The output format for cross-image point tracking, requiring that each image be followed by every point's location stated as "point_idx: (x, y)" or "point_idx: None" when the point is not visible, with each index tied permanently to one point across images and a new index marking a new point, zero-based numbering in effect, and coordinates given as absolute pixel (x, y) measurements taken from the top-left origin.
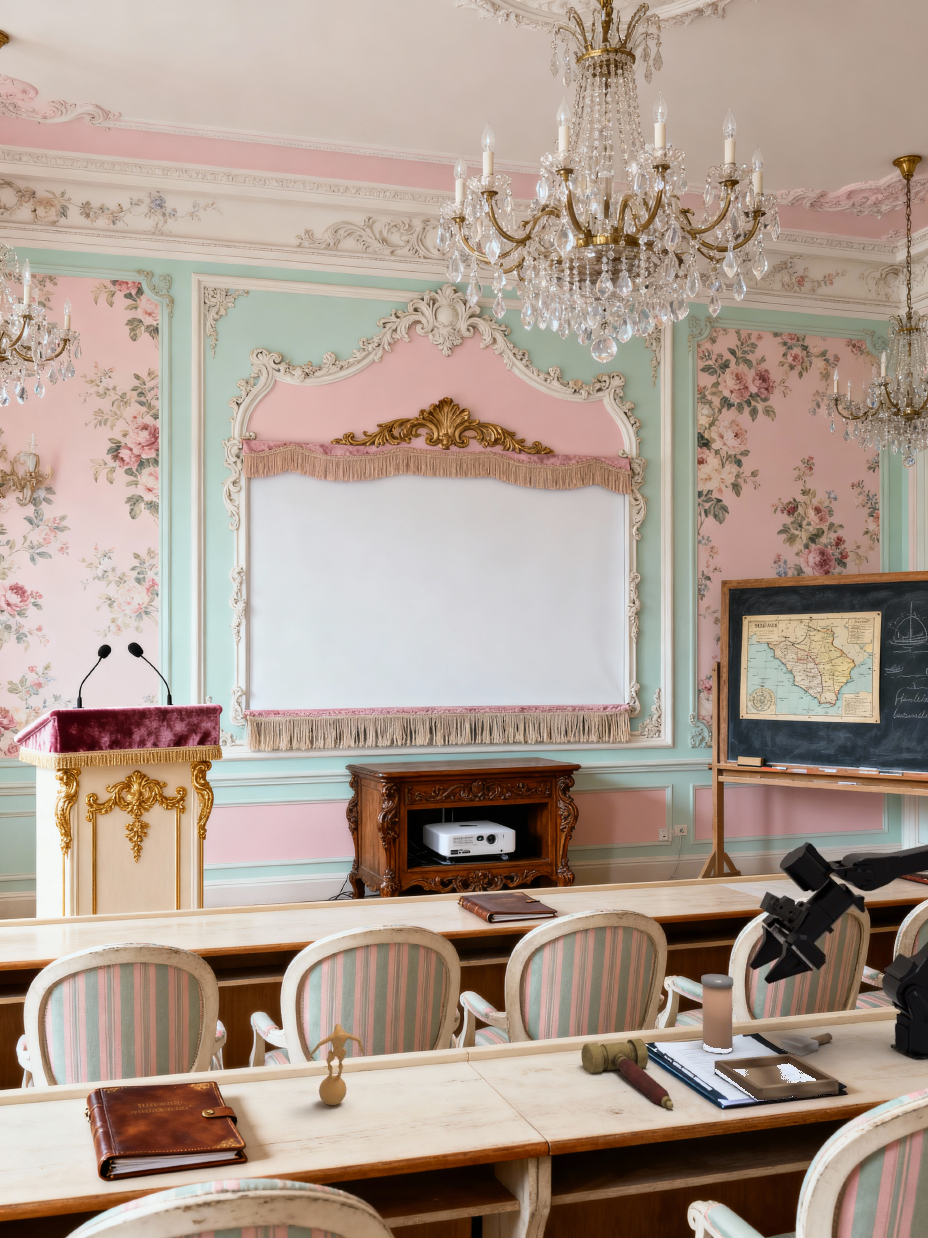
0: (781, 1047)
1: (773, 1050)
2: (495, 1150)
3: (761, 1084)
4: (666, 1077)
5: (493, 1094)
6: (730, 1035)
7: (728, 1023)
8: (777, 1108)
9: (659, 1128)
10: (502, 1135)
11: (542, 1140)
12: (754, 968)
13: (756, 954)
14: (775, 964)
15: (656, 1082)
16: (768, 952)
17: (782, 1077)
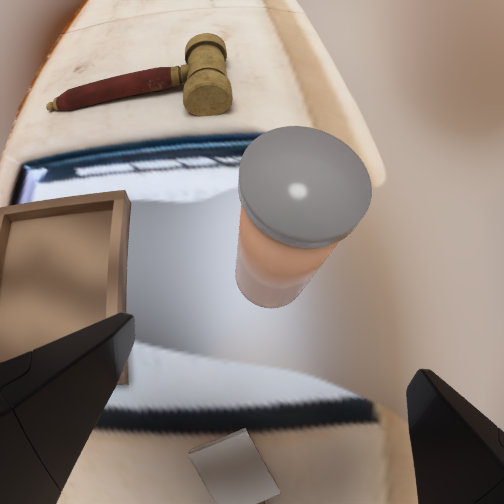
0: (243, 429)
1: (246, 408)
2: (73, 16)
3: (41, 248)
4: (146, 129)
5: (170, 9)
6: (243, 279)
7: (241, 260)
8: None
9: (27, 95)
10: (90, 15)
11: (67, 31)
12: (410, 392)
13: (461, 408)
14: (51, 354)
15: (82, 89)
16: (454, 484)
17: (53, 309)
